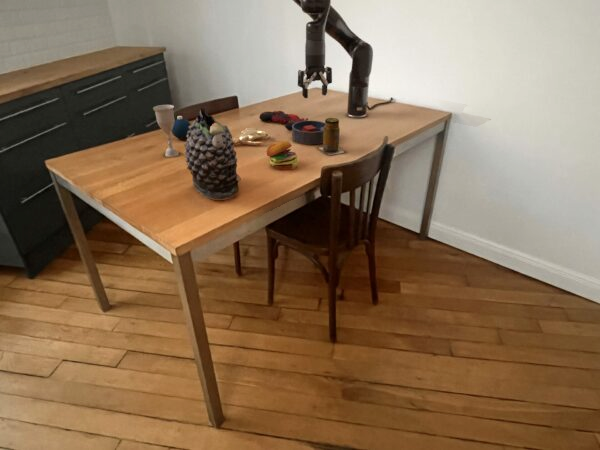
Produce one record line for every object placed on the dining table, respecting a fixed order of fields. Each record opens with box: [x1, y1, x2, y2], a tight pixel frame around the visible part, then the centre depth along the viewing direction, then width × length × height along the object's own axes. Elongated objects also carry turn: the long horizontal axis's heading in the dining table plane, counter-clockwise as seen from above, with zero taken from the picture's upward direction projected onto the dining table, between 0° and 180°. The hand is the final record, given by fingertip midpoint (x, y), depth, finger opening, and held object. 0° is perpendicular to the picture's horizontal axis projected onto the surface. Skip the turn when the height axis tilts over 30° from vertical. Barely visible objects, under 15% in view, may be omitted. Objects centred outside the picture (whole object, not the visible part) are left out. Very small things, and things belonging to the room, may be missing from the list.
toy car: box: [301, 125, 316, 132], centre depth 168 cm, size 8×4×4 cm, turn 29°
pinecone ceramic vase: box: [183, 107, 242, 201], centre depth 123 cm, size 21×15×25 cm
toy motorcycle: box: [259, 110, 309, 131], centre depth 186 cm, size 25×5×16 cm
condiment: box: [318, 117, 345, 156], centre depth 155 cm, size 7×8×12 cm
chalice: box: [152, 104, 180, 158], centre depth 150 cm, size 7×7×18 cm
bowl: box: [291, 120, 325, 145], centre depth 168 cm, size 15×15×6 cm
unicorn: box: [232, 127, 271, 146], centre depth 167 cm, size 20×4×17 cm
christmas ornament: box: [171, 115, 192, 140], centre depth 167 cm, size 8×8×10 cm
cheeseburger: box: [266, 140, 298, 170], centre depth 144 cm, size 10×11×10 cm
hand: (315, 96), depth 161 cm, fingers open, 8 cm apart
